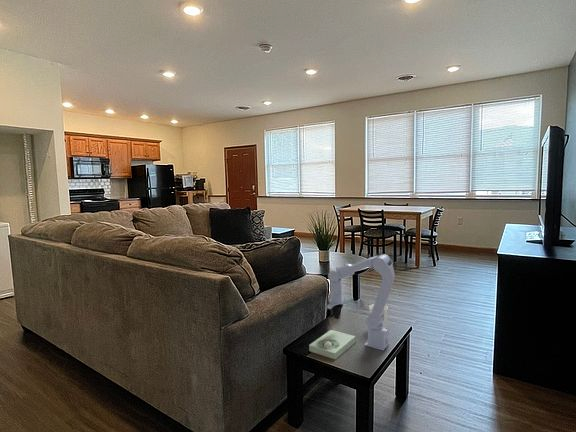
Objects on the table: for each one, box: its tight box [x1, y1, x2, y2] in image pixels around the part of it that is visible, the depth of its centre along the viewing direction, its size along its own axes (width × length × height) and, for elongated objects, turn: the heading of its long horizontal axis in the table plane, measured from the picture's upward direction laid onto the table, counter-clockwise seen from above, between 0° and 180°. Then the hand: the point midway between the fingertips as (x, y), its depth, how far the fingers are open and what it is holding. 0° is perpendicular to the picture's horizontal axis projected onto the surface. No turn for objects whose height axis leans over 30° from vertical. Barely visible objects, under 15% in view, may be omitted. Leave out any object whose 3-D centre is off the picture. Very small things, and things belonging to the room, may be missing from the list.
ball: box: [324, 341, 332, 347], centre depth 161 cm, size 4×4×4 cm
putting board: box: [308, 329, 357, 360], centre depth 164 cm, size 14×20×3 cm
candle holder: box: [368, 303, 389, 330], centre depth 181 cm, size 10×10×12 cm
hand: (336, 318), depth 174 cm, fingers closed
